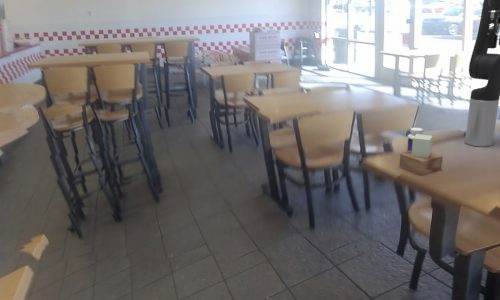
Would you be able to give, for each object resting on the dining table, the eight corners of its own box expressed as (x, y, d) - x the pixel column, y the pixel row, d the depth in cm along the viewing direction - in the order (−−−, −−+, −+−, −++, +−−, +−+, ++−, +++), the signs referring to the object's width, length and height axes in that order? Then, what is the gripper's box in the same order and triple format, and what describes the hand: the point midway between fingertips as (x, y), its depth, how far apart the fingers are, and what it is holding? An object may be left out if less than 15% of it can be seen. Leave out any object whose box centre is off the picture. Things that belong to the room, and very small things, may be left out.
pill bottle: (424, 157, 143) (426, 131, 139) (407, 157, 144) (409, 131, 141) (421, 152, 148) (423, 126, 144) (405, 152, 149) (407, 126, 146)
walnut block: (418, 162, 140) (419, 148, 138) (440, 170, 132) (442, 156, 130) (399, 167, 136) (400, 153, 134) (421, 176, 128) (422, 161, 127)
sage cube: (414, 151, 136) (416, 133, 134) (430, 153, 133) (432, 135, 131) (411, 155, 132) (412, 138, 130) (427, 158, 129) (429, 140, 127)
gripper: (500, -12, 122) (492, 44, 127) (480, -11, 113) (473, 48, 118) (529, -14, 116) (520, 45, 121) (511, -13, 108) (502, 49, 113)
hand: (497, 46), depth 120 cm, fingers open, 8 cm apart
